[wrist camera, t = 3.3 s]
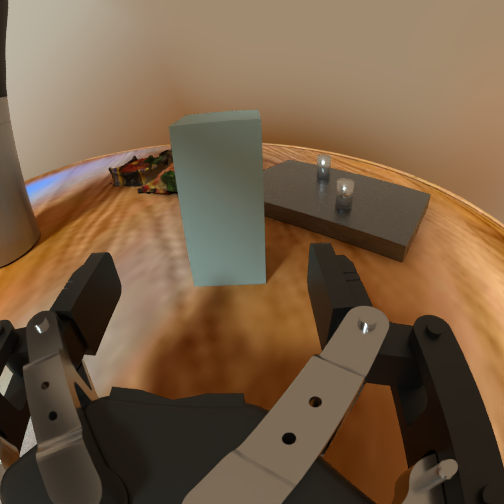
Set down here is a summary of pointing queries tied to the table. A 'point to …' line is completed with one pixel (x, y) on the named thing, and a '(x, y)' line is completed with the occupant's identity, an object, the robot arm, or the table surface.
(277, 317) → the table surface
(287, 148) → the table surface
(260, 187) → the block
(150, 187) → the food
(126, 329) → the table surface
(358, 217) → the mounting plate
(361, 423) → the table surface
